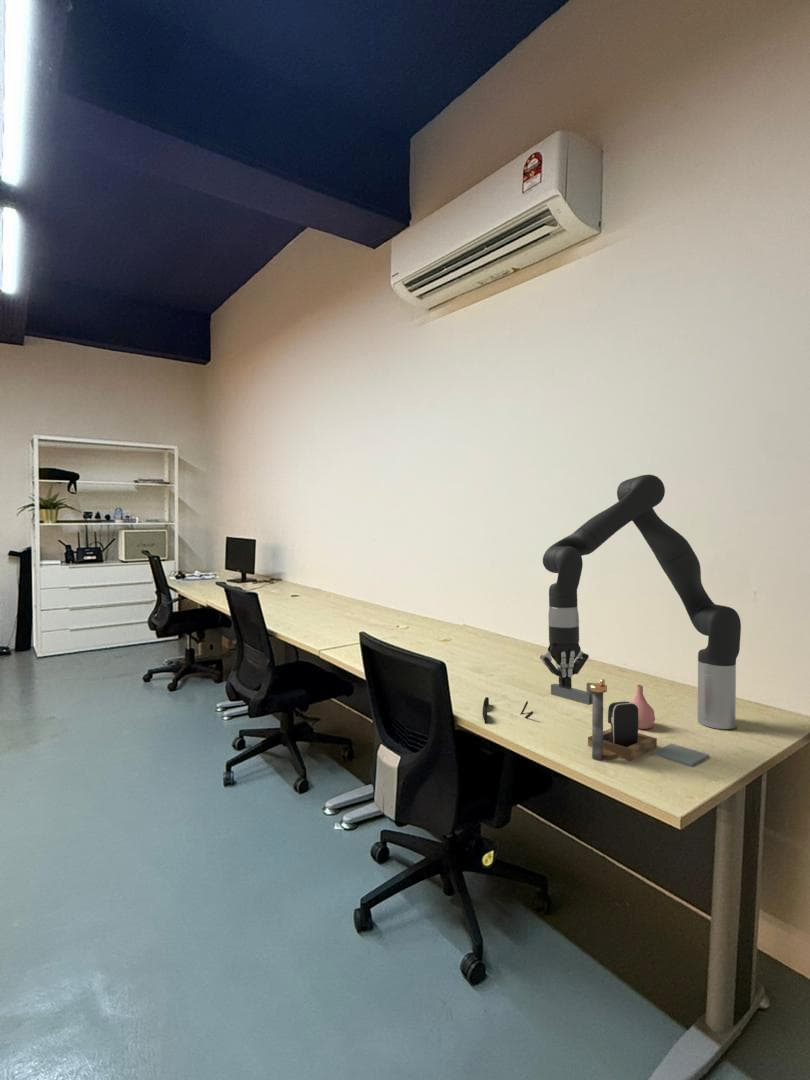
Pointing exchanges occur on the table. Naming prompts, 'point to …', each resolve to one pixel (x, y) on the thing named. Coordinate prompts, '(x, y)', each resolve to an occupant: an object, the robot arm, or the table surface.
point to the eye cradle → (601, 738)
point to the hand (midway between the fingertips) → (565, 690)
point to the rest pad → (681, 754)
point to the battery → (623, 723)
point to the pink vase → (643, 710)
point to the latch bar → (579, 692)
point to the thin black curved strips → (486, 702)
